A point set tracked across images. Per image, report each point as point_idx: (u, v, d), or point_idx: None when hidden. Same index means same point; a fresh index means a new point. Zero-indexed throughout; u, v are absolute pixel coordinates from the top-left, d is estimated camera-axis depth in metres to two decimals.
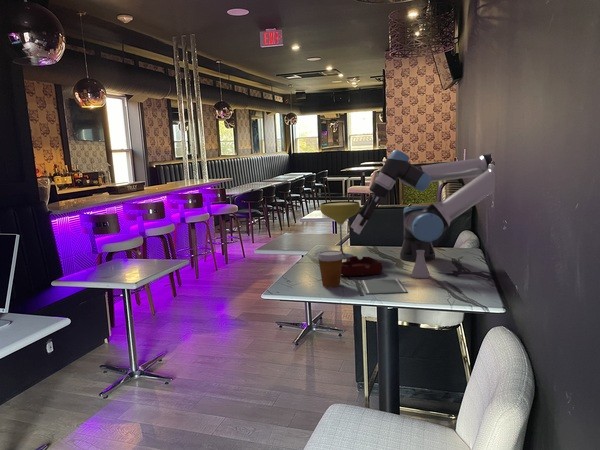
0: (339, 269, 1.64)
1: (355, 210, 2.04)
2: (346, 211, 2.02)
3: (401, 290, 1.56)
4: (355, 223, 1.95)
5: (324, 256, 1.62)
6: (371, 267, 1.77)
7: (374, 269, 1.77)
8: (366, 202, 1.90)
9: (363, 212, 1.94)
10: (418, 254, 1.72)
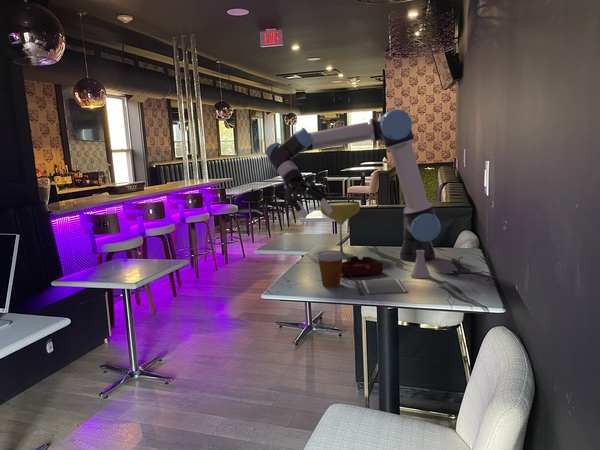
0: (339, 269, 1.64)
1: (355, 210, 2.04)
2: (346, 211, 2.02)
3: (401, 290, 1.56)
4: (326, 208, 1.81)
5: (324, 256, 1.62)
6: (371, 267, 1.77)
7: (374, 269, 1.77)
8: None
9: (318, 197, 1.83)
10: (418, 254, 1.72)
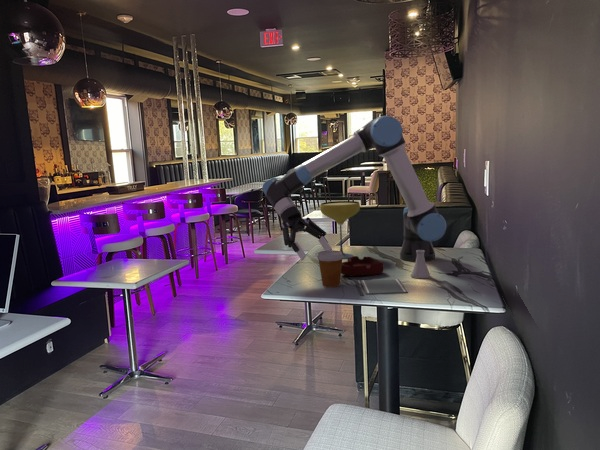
0: (339, 269, 1.64)
1: (355, 210, 2.04)
2: (346, 211, 2.02)
3: (401, 290, 1.56)
4: (325, 247, 1.75)
5: (324, 256, 1.62)
6: (372, 267, 1.77)
7: (375, 269, 1.77)
8: (303, 230, 1.77)
9: (317, 235, 1.77)
10: (418, 254, 1.72)
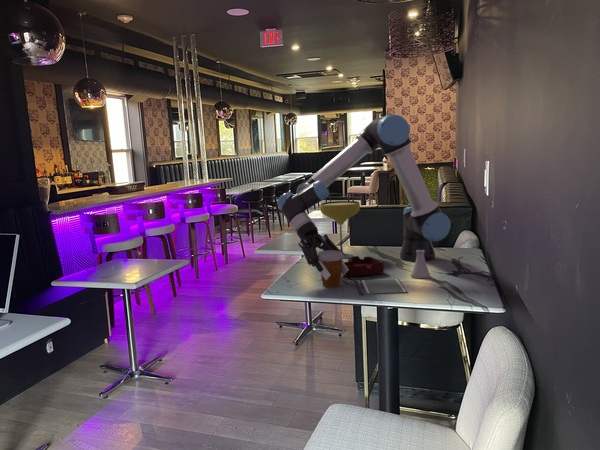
0: (339, 269, 1.64)
1: (355, 210, 2.04)
2: (346, 211, 2.02)
3: (401, 290, 1.56)
4: None
5: (324, 256, 1.62)
6: (373, 267, 1.76)
7: (376, 269, 1.77)
8: (319, 247, 1.72)
9: None
10: (418, 254, 1.72)
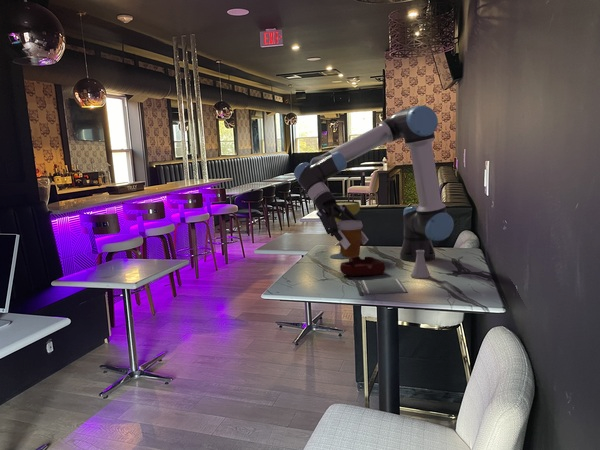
0: (359, 238, 1.60)
1: (355, 210, 2.04)
2: None
3: (401, 290, 1.56)
4: None
5: (343, 225, 1.58)
6: (374, 267, 1.76)
7: (377, 269, 1.77)
8: (337, 218, 1.68)
9: None
10: (418, 254, 1.72)
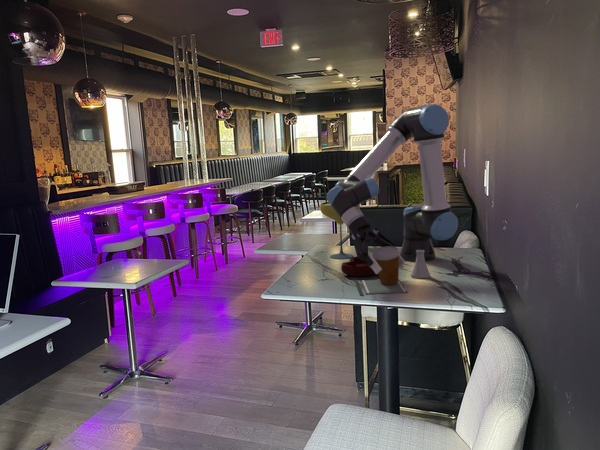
0: (397, 266, 1.61)
1: None
2: None
3: (401, 290, 1.56)
4: None
5: (380, 255, 1.59)
6: None
7: None
8: (372, 242, 1.67)
9: None
10: (418, 254, 1.72)
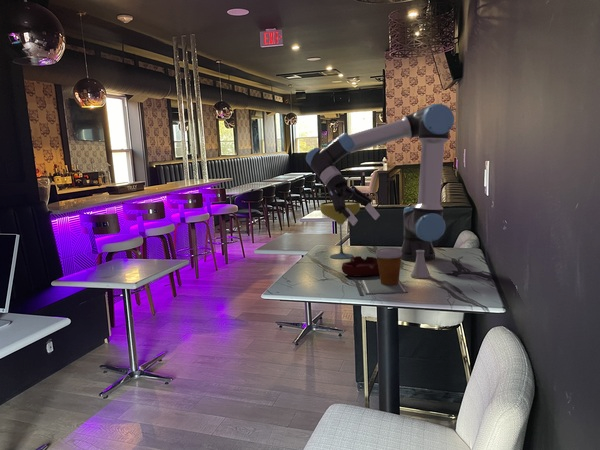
0: (398, 266, 1.62)
1: (355, 210, 2.04)
2: None
3: (401, 290, 1.56)
4: (372, 214, 1.77)
5: (383, 253, 1.60)
6: (375, 267, 1.76)
7: (378, 269, 1.77)
8: (349, 198, 1.79)
9: (363, 202, 1.79)
10: (418, 254, 1.72)
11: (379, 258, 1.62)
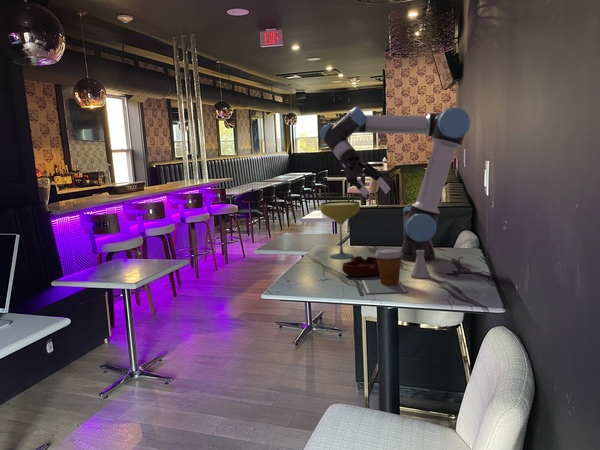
0: (398, 267, 1.62)
1: (355, 210, 2.04)
2: (346, 211, 2.02)
3: (401, 290, 1.56)
4: (383, 187, 1.82)
5: (384, 254, 1.60)
6: (376, 267, 1.76)
7: None
8: (361, 172, 1.84)
9: (375, 176, 1.84)
10: (418, 254, 1.72)
11: (379, 258, 1.61)
